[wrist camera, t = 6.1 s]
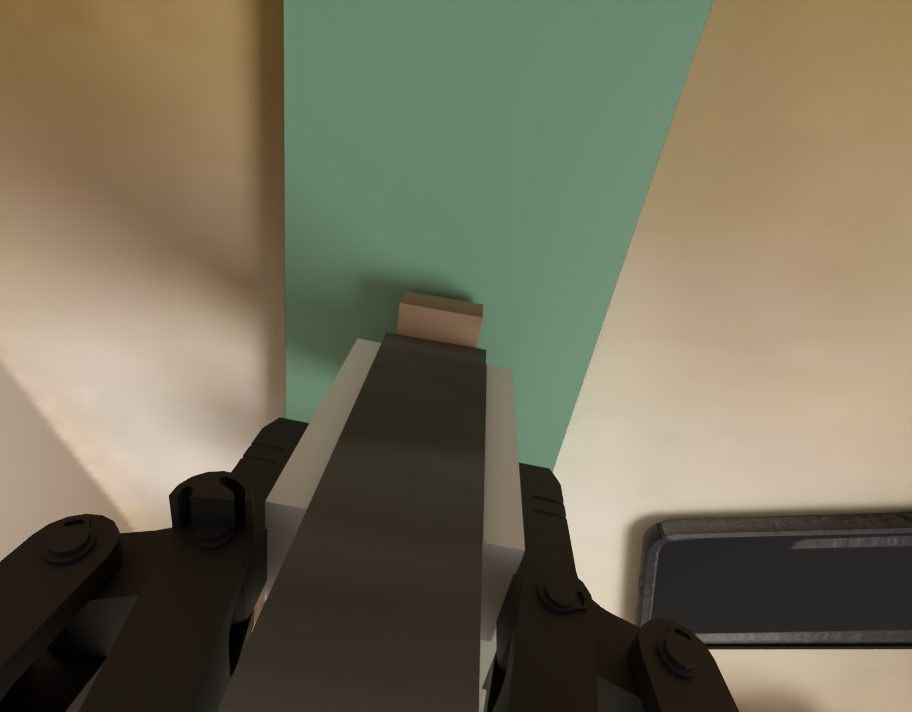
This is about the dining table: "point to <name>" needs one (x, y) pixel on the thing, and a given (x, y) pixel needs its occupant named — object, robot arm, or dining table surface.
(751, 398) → the dining table surface
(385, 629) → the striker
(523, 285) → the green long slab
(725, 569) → the phone
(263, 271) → the dining table surface
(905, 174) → the dining table surface
